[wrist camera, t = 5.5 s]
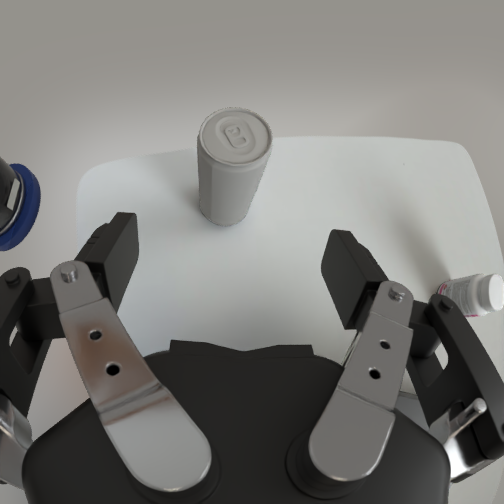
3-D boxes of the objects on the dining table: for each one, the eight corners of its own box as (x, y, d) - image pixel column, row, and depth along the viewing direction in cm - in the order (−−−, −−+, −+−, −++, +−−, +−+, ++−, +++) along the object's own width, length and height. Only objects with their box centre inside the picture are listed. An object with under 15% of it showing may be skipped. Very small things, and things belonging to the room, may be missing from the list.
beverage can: (236, 176, 29) (253, 98, 18) (257, 216, 29) (288, 152, 17) (192, 193, 28) (185, 119, 17) (212, 236, 28) (216, 179, 16)
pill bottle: (443, 326, 29) (493, 323, 21) (430, 292, 30) (481, 283, 22) (462, 306, 30) (510, 299, 22) (451, 274, 31) (499, 262, 23)
